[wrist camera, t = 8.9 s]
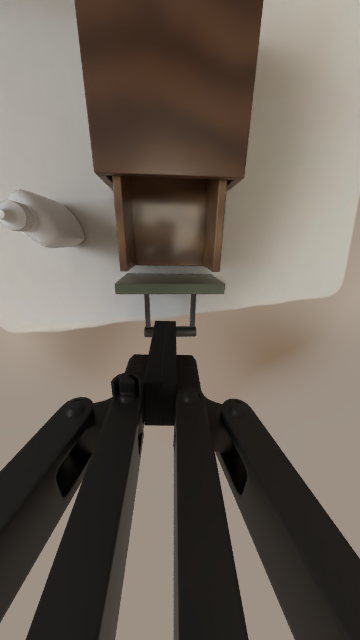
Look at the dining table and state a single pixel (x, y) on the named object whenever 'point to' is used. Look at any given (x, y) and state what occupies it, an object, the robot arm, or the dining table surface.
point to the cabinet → (169, 86)
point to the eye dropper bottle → (41, 219)
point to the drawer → (169, 236)
